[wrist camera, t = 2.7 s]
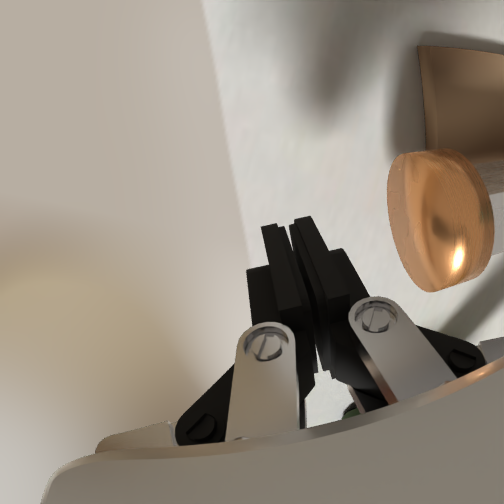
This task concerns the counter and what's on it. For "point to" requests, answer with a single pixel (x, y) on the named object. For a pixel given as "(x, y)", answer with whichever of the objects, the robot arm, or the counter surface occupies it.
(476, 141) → the board
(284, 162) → the counter surface
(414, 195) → the shaft
